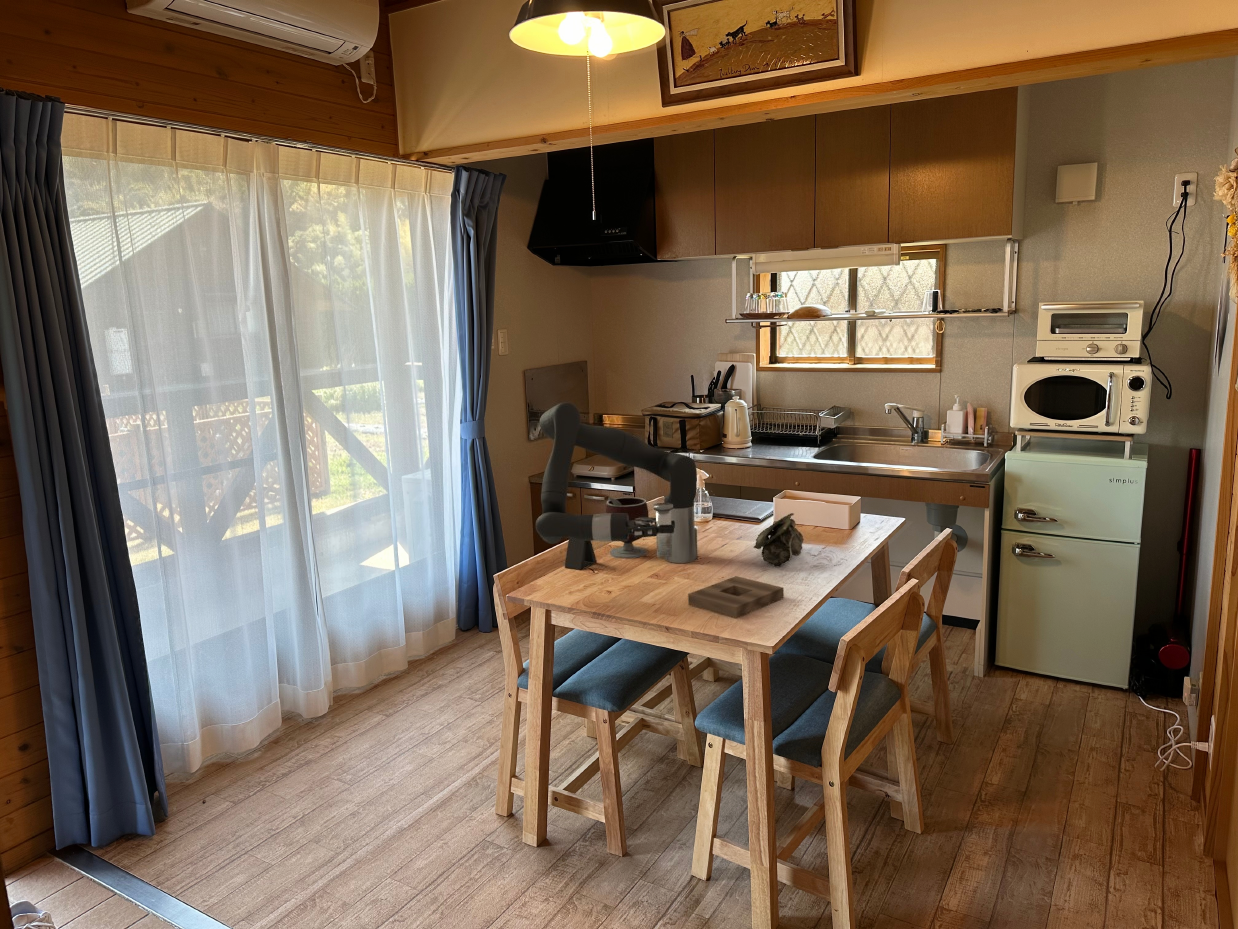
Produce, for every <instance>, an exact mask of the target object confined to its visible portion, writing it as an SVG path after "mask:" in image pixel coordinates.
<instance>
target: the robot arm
mask: <svg viewBox="0 0 1238 929" xmlns="http://www.w3.org/2000/svg"><path fill="white" fill-rule="evenodd" d="M539 418H540V419H539V428H540V430H541V432H542V433H543V434H544V436H546V437H547V438H549V439H551V440H553V446H552V451H551V454H550V456H549V459H548V462H547V464H546V467H545V470H544V474H543V476H542V478H543V479H542V485H541V494H540V502H541V506H542V514H541V515H540V516H538V518H537V519H536V521H535V530H536V532H537V533H538V535H539V536H540V537H541V539H542V540H543V541H544V542H546V543H547V544H557V543H559V542H560V541H561V540H562V539H563V538H569V537H570V538H573V539H575V540H580V541H591V542H593V541H598V542H621V541H628V539H629V534H632V535H635V538H640V539H642V538H650V537H657V535H658V534H660V533H671V535H672V556H671V557H668V558H665V561H667V562H669V563H673V564H685V563H691V562H694V561H695V560H696V558H697V559H698V556H699V555H698V529H697V527H696V526H695V524H696V523H695V522H696V521H695V499H696V497H697V488H698V487H697V486H698V485H697V483H698V480H697V479H698V470H697V465H696V461H694V459H693V458H692V457H690V456H688V455H684V454H680V453H677V452H676V453H675V452H671V451H666V450H663V449H659V448H657V447H653V446H651V445H649V444H648V443H647V442H645V441H644V440H642V439H641V438H640V437H639V436H635V435H634V434H632V433H630V432H627V431H625V430H622V429H619V428H617V427H612V426H611V427H610V426H602V425H590V424H586V423H582V422H581V420H582V419H581V418H582V417H581V413H580V411H579V409H578V408H577V406H576V405H574V404H573V403H571V402H565V401H564V402H560V403H557V404H556V405H555V406H553V407H551V408H549V409H548V410H546V411H545V412H544V413H543V414H542V415H541V417H539ZM575 447H578V448H581V449H584V450H586V451H589V452H591V453H594V454H597V455H599V456H602V457H605V458H606V459H609V460H612V461H614V462H616V463H620V464H622V465H626V466H629V467H634V468H638V469H641V470H645V471H647V472H649V473H650V474H654V475H655V476H656V477H658V478H660V479H662V480H664V481H666V482H668V483H670V486H669V488H670V489H669V493H668V494H667V495H665V496H664V498H663V503H671V504H673V509H672V510H671V525H660V526H659V525H658V524H656V517H650V516H649V517H639V518H636V519H635V520H629V516H628V514H627V513H598V514H597V513H596V514H574V513H566V512H567V510H566V509H567V508H566V504H567V498H568V497H567V496H568V488H569V487H568V486H569V478H570V470H571V463H572V459H573V454H574V450H575Z"/></svg>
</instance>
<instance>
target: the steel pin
mask: <svg viewBox="0 0 1238 929" xmlns="http://www.w3.org/2000/svg"><path fill="white" fill-rule="evenodd" d="M652 508H653V510H654V511H655V518H656V524H658V525H659V526H660V525H671V510H672V509H673V504H671V503H664V502H658V503H657V502H656V503H655V504H653V506H652ZM656 556H657V557H658V558H660V559H666V558H668V557H671V556H672V535H671V533H660V534H658V535H657V536H656ZM657 557H656V558H657Z"/></svg>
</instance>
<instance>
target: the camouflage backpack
mask: <svg viewBox="0 0 1238 929" xmlns="http://www.w3.org/2000/svg"><path fill="white" fill-rule="evenodd" d="M794 515H795V513H793V512H792V513H788V514H787V515H786V516H783V517H781V518H780V519H778V520H777V521H775V522H774V523H772V524H771V525H770V526H768V527H766V528H764V530H762V531H760V532H759V534H758V535H757V537H756V539H755V541H756V542H755V544H754V546H753V548H754V549H756V550H761V557H762V559H763V561H764V562H766V563H767V564H770V565H771V566H774V567H775V568H777V567H778V568H779V567H781V566H783V565H785V564H786V563H787V562H790V559H791V558H792V556H795V557H797V556H800V555H801V554H802V550H803V543H804V541H805V539H804V537H803V536H804V535H803V534H802V532H801V531H799V530H798V529H797V527H796V521H795V520H794V518H793V519H792V518H791V517H792V516H794Z"/></svg>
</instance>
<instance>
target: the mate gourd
mask: <svg viewBox="0 0 1238 929" xmlns="http://www.w3.org/2000/svg"><path fill="white" fill-rule="evenodd" d="M607 499H608V500H607V501H606V505H605V511H604V512H605V513H627V514H628V516H629V520H635V519H636V518H639V517H650V515H649V508H648V507H649V506H648V504H647V500H646V499H645V498H642V497H636V496H635V497H634V496H633V497H631V496H628V497H627V496H626V497H625V496H624V497H616V498H613V497H608V498H607ZM605 513H604V514H605ZM640 539H641V538H635V535H632V534H629V539H628V541H620V542H621V543H623V545H622V546H619V547H615V548H611V549H610V550H609V556H611V557H613V558H616V559H635V558H641V557H644V556H646V555H647V554H648V549H647V548H645V547H642V546H637V545H635V546H634V544H633V543H634V542H635V541H638V540H640Z"/></svg>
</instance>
